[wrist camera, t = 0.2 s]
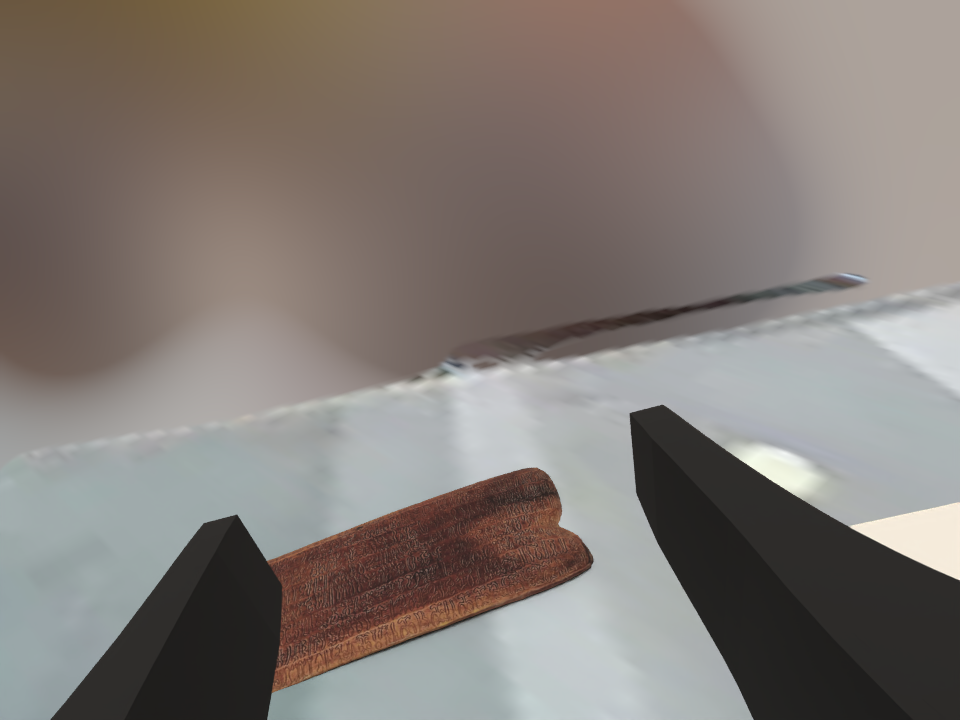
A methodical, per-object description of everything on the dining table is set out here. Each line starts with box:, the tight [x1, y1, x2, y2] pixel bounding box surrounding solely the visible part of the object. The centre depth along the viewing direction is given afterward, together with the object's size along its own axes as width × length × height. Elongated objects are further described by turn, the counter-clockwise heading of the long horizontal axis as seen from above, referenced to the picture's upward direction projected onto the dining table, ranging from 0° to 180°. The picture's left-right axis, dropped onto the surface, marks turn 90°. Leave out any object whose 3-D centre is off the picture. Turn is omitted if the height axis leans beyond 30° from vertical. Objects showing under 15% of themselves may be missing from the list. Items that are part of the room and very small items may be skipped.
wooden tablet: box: [267, 468, 593, 693], centre depth 35 cm, size 26×2×10 cm
